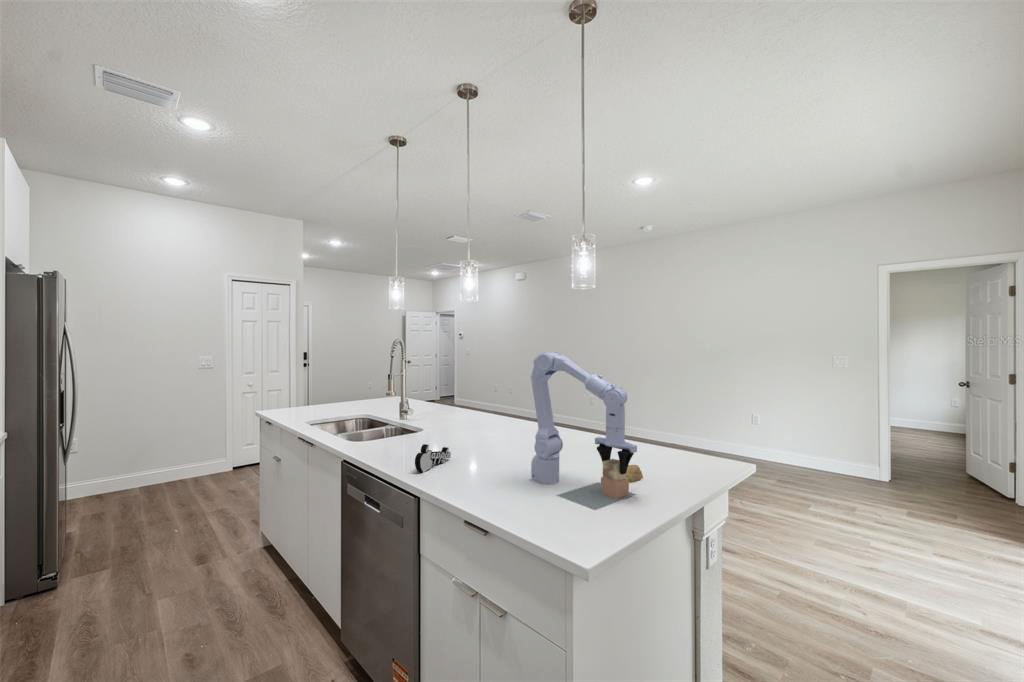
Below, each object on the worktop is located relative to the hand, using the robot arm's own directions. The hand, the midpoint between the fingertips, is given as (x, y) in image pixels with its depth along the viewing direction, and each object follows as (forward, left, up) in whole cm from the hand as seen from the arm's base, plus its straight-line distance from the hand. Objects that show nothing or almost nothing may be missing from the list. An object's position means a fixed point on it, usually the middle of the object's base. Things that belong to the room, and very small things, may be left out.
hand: (614, 471), depth 134 cm
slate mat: (-3, -5, -8) cm, 10 cm away
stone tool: (-6, +18, -8) cm, 21 cm away
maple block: (0, 0, -2) cm, 2 cm away
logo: (-63, -28, -8) cm, 69 cm away
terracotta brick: (0, 0, -7) cm, 7 cm away
